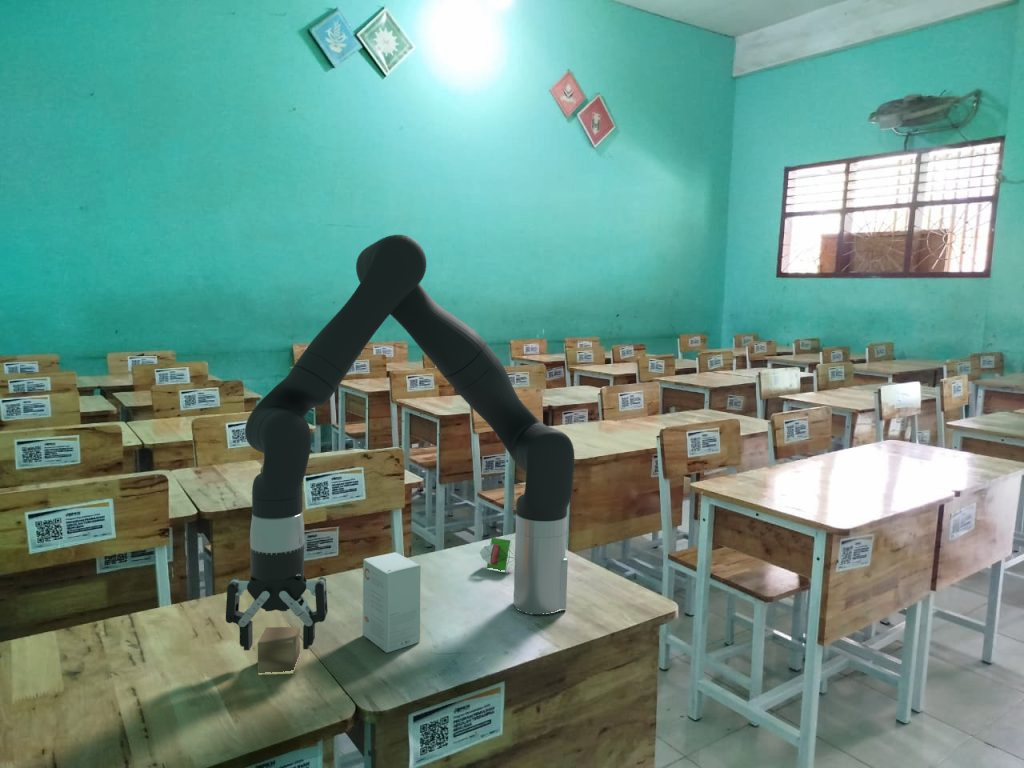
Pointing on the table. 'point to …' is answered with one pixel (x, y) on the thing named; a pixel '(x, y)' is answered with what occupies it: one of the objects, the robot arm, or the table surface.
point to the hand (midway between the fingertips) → (277, 647)
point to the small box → (391, 601)
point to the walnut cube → (278, 649)
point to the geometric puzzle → (496, 553)
